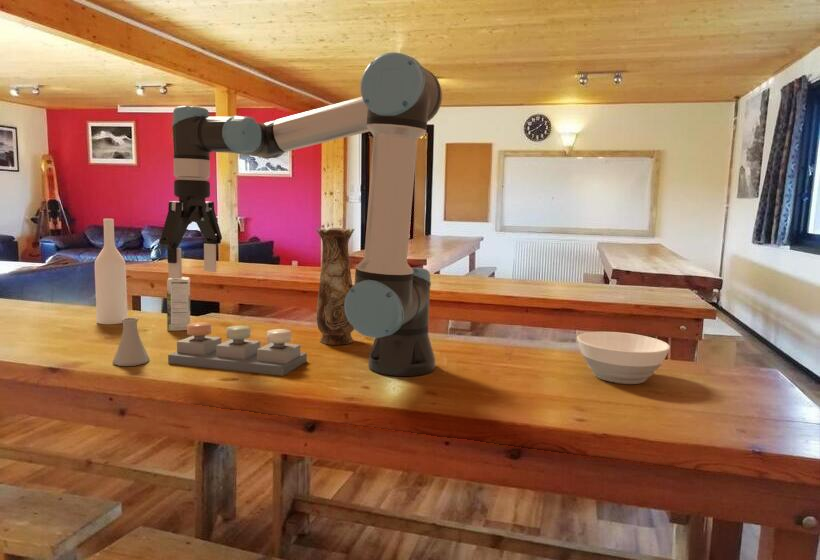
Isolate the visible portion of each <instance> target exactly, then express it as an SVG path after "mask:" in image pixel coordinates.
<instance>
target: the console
mask: <svg viewBox="0 0 820 560" xmlns="http://www.w3.org/2000/svg"><path fill="white" fill-rule="evenodd" d="M307 354H308V353H307V352H301V344H296V343H295V344H294V343H285V349H283V350H282V349H274V343H270V342H268V343H267V344H265V345H264V346H261V341H260V340H253V339H244V345H242V346H241V345H233V339H228V340H226V341H224V342H222V337H221V336H220V337H219V336H210V335H209V336H208V335H205V341H202V342H199V341H194V336H193V335H190V336H188V337H186V338H182V339H180V340H177V341H176V351H175V352H174V351H173V352H172V353H168V355H167V364H170V365H181V366H188V367H197V368H198V367H199V368H205V369H207V368H208V369H216V370H226V371H235V372H243V373H244V372H245V373H251V374H262V375H273V376H281V377H282V376H283V377H285V376H286V375H287V374H289V373H291V372H292V371H294V370H296V369H297V368H299V367H300V366H302V365H304V364H305V363H306V362H307V361H308V357H307V356H308V355H307Z"/></svg>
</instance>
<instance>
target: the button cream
mask: <svg viewBox="0 0 820 560" xmlns="http://www.w3.org/2000/svg"><path fill="white" fill-rule="evenodd" d="M266 341H267V343H274V349H282V350H283V349H285V343H286V344H288V343H289V342H291V341H292V331H291V330H289V329H285V328H277V329H275V328H274V329H270V330H266Z"/></svg>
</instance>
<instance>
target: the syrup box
mask: <svg viewBox="0 0 820 560" xmlns="http://www.w3.org/2000/svg"><path fill="white" fill-rule="evenodd" d="M166 317H167V318H166V319H167V322H166V323H167V324H166V326H167V327H166V329H167V332H175V331H176V332H178V331H180V332H183V331H187V325H188V324H190V323H191V277H189V276H182V278H181V279H176V278H169V277H168V279H167V280H166Z"/></svg>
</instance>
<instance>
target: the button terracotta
mask: <svg viewBox="0 0 820 560" xmlns="http://www.w3.org/2000/svg"><path fill="white" fill-rule="evenodd" d="M186 334H187V335H188V336H194V341H199V342H202V341H205V336H208V335H210V334H212V323H210V322H205V321H202V322H201V321H200V322H190V324H188V325H187V330H186Z"/></svg>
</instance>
